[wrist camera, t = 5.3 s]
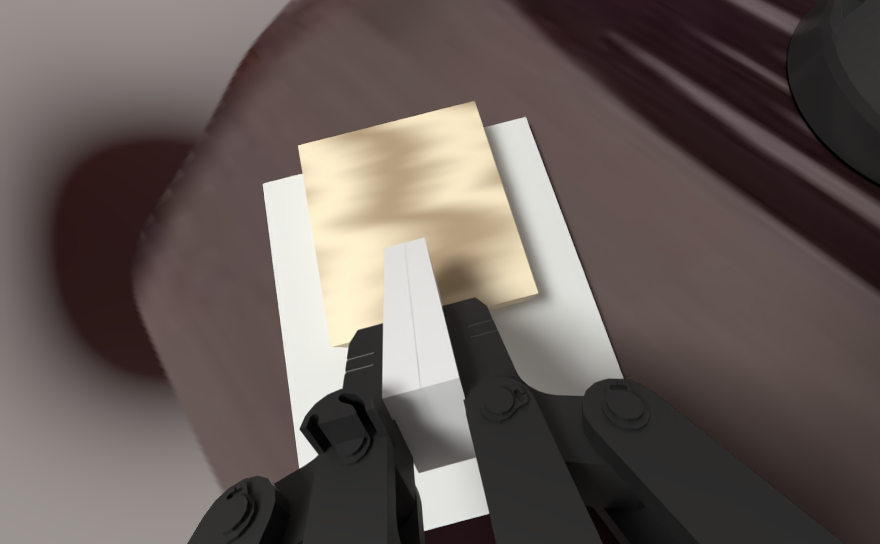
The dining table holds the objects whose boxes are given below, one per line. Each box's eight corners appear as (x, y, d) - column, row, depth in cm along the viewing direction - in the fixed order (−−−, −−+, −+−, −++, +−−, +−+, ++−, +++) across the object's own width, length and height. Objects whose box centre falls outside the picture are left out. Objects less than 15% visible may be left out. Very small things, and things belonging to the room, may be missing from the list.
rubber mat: (523, 124, 19) (525, 117, 18) (649, 464, 14) (657, 469, 14) (268, 189, 19) (262, 183, 18) (317, 551, 14) (311, 560, 14)
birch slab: (528, 300, 16) (472, 127, 18) (538, 293, 14) (474, 100, 16) (347, 347, 16) (315, 167, 18) (331, 346, 14) (298, 145, 16)
